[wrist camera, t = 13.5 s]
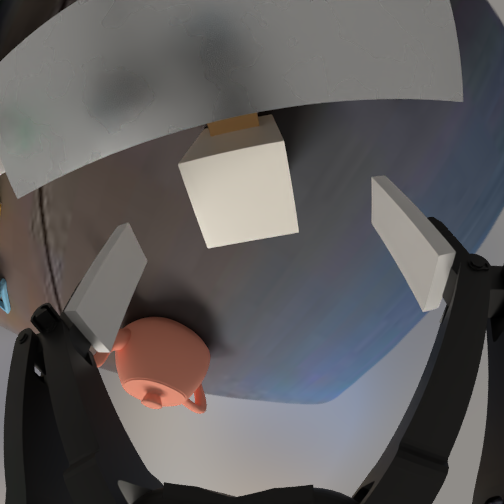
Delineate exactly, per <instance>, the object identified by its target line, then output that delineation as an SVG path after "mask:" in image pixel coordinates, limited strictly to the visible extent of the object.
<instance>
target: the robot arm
mask: <svg viewBox="0 0 504 504" xmlns="http://www.w3.org/2000/svg"><path fill="white" fill-rule="evenodd" d="M372 225H373V226H374V228H375V229H376V231H377V232H378V234H379V235H380V237H381V239H382V240H383V242H384V243H385V245H386V247H387V248H388V250H389V252H390V253H391V255H392V257H393V258H394V260H395V262H396V263H397V265H398V267H399V268H400V270H401V272H402V274H403V275H404V277H405V279H406V281H407V283H408V284H409V286H410V288H411V290H412V292H413V294H414V296H415V297H416V299H417V301H418V303H419V305H420V307H421V309H422V311H423V312H425V311H429V310H432V309H435V308H439V305H440V303H441V300H442V297H443V298H444V300H445V302H446V303H447V305H446V308H445V310H444V313H443V315H442V318H441V320H440V322H441V324H440V327H439V331H438V334H437V337H436V340H435V343H434V346H433V349H432V352H431V354H430V357H429V360H428V362H427V365H426V368H425V370H424V373H423V375H422V377H421V380H420V382H419V385H418V387H417V389H416V391H415V394H414V396H413V398H412V400H411V402H410V405H409V407H408V409H407V411H406V413H405V415H404V417H403V419H402V421H401V423H400V425H399V426H398V428H397V430H396V432H395V434H394V436H393V437H392V439H391V441H390V443H389V444H388V446H387V448H386V450H385V451H384V453H383V454H382V456H381V458H380V459H379V461H378V463H377V464H376V465H375V467H374V468H373V469H372V470H371V472H370V473H369V474H368V476H367V477H366V478H365V480H364V481H363V483H362V484H361V485H360V487H359V488H358V490H357V491H356V492H355V494H354V495H353V496H352V498H350V497H348V496H346V495H344V494H342V493H339V492H336V491H333V490H328V489H323V488H313V485H306V486H298V487H286V488H273V489H269V490H266V491H262V492H257V493H253V494H249V495H244V496H239V497H235V496H231V495H227V494H224V493H219V492H215V491H211V490H207V489H203V488H200V487H195V486H186V485H178V484H171V483H164V486H163V484H162V483H161V482H160V481H159V480H158V479H157V478H156V477H154V476H153V475H152V474H151V473H150V472H149V471H148V470H147V468H146V467H145V465H144V463H143V462H142V460H141V458H140V457H139V455H138V453H137V451H136V450H135V448H134V446H133V444H132V442H131V441H130V439H129V437H128V435H127V433H126V431H125V429H124V427H123V425H122V423H121V421H120V419H119V417H118V415H117V413H116V411H115V408H114V406H113V404H112V402H111V399H110V397H109V395H108V392H107V390H106V388H105V385H104V383H103V380H102V378H101V375H100V373H99V370H98V367H97V365H96V362H95V359H94V356H93V354H92V353H91V352H90V351H89V348H90V346H91V345H92V346H93V347H94V348H95V349H96V350H97V351H98V352H108V353H111V350H112V347H113V344H114V341H115V339H116V336H117V333H118V331H119V328H120V326H121V323H122V320H123V318H124V315H125V313H126V310H127V308H128V305H129V303H130V301H131V298H132V296H133V293H134V291H135V289H136V286H137V284H138V282H139V279H140V277H141V275H142V273H143V270H144V268H145V266H146V264H147V259H146V257H145V255H144V253H143V251H142V249H141V247H140V245H139V243H138V241H137V239H136V237H135V235H134V233H133V230H132V228H131V226H130V224H129V223H126V224H122V225H118V226H117V228H116V229H115V231H114V232H113V233H112V235H111V236H110V238H109V239H108V241H107V242H106V244H105V245H104V247H103V248H102V250H101V251H100V253H99V254H98V256H97V257H96V259H95V260H94V262H93V263H92V265H91V266H90V268H89V270H88V271H87V273H86V274H85V276H84V278H83V279H82V281H81V282H80V283H79V284H78V286H77V287H76V289H75V292H73V294H72V296H71V298H70V299H69V301H68V303H67V305H66V306H65V308H64V310H63V312H62V314H61V315H60V316H59V315H58V313H57V312H56V311H55V310H54V308H53V307H52V306H51V304H49V303H46V304H43V305H41V306H40V307H39V308H38V309H36V311H35V312H34V313H33V315H32V317H31V322H32V324H33V325H34V326H35V327H36V328H37V329H38V331H39V332H40V333H39V334H35V333H34V332H33V331H32V330H31V329H30V328H27V329H24V330H23V331H21V332H20V333H19V335H18V337H17V339H16V341H15V346H14V351H13V356H12V361H11V366H10V372H9V379H8V387H7V395H6V404H5V418H4V468H5V480H6V502H5V504H432V503H433V501H434V499H435V498H436V496H437V494H438V492H439V490H440V489H441V487H442V485H443V483H444V481H445V478H446V476H447V474H448V469H449V467H448V457H449V455H450V452H451V450H452V448H453V445H454V443H455V440H456V438H457V436H458V433H459V430H460V428H461V425H462V422H463V419H464V417H465V414H466V411H467V407H468V404H469V401H470V398H471V395H472V391H473V387H474V384H475V381H476V377H477V373H478V368H479V364H480V360H481V355H482V350H483V344H484V339H485V333H486V331H487V343H488V366H489V367H488V370H489V381H488V406H487V420H486V429H485V437H484V443H483V450H482V456H481V461H480V466H479V471H478V475H477V479H476V484H475V490H474V495H473V502H472V504H504V265H503V266H490V264H489V263H488V261H487V260H486V259H485V258H483V257H482V256H479V255H477V254H469V253H468V252H467V250H466V249H465V248H464V247H463V246H462V244H461V243H460V242H459V241H458V240H457V239H456V237H455V236H453V234H452V233H451V232H450V231H449V230H448V228H447V227H446V226H445V225H444V224H443V223H442V222H441V221H439V220H437V219H436V218H434V217H428V218H426V216H425V215H424V214H423V213H422V212H421V211H420V210H419V209H418V208H417V207H416V206H415V205H414V204H413V203H412V202H411V201H410V200H409V199H408V198H407V196H406V195H405V194H404V193H403V192H402V191H401V190H399V189H398V188H397V187H396V186H395V185H394V184H393V183H392V182H391V181H390V180H389V179H388V178H387V177H386V176H385V175H384V176H375V177H372ZM34 367H36V368H37V369H38V370H39V371H40V372H41V376H38V375H37V374H36V373H35V370H34Z"/></svg>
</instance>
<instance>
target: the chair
mask: <svg viewBox="0 0 504 504" xmlns="http://www.w3.org/2000/svg"><path fill="white" fill-rule="evenodd" d="M1 295H2V299H3V302H1V301H0V307H1V308H2V309H3V310H4V311H5V312H6V313H9V312H10V310H11V308H10V303H9V298H8V293H7V286H6V280H5V279H4V278H3V279H2V280H1V281H0V298H1Z"/></svg>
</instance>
